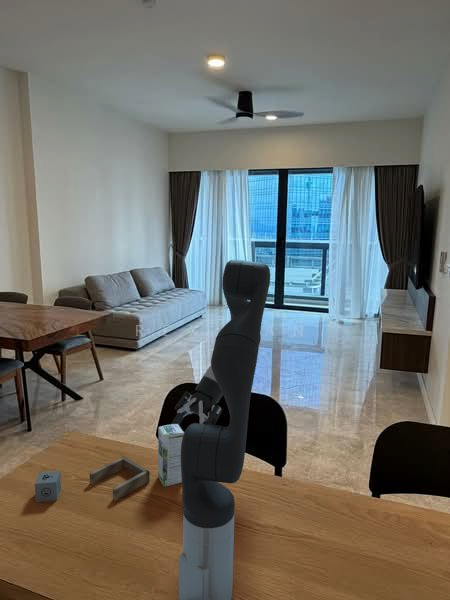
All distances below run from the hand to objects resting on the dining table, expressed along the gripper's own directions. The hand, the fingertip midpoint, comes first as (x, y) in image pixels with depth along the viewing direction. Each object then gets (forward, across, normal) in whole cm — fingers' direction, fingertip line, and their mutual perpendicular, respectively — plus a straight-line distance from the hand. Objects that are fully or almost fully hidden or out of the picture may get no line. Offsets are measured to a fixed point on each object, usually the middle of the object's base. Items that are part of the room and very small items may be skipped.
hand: (183, 432), depth 117 cm
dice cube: (+30, -16, -13) cm, 37 cm away
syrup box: (+12, 0, +6) cm, 13 cm away
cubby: (+19, -8, -2) cm, 21 cm away
